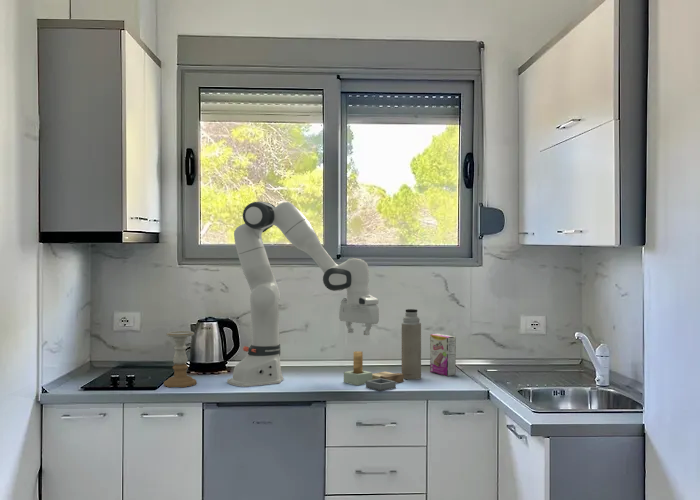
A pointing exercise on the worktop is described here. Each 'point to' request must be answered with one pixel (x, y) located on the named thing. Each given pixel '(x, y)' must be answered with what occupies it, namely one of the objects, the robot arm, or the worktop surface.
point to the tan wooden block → (377, 375)
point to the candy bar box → (443, 354)
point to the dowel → (358, 362)
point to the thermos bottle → (411, 345)
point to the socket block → (357, 377)
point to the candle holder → (180, 361)
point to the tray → (381, 384)
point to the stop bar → (394, 377)
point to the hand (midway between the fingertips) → (358, 334)
